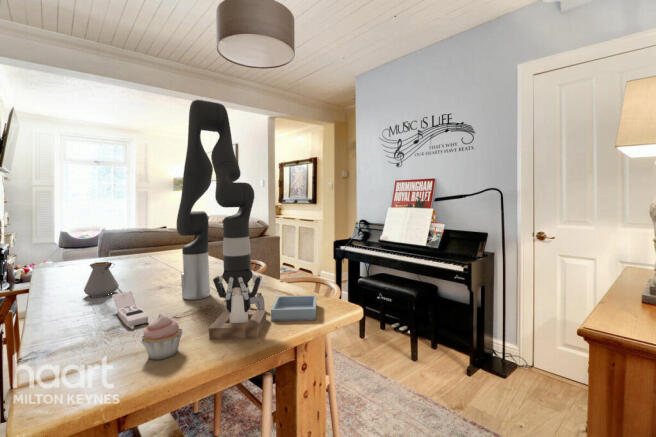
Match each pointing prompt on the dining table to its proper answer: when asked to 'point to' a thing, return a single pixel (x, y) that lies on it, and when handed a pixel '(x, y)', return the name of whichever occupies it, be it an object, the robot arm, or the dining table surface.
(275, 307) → the tray
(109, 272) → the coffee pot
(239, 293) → the pepper shaker
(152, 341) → the cupcake
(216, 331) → the socket block
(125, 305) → the mobile phone
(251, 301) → the caliper
